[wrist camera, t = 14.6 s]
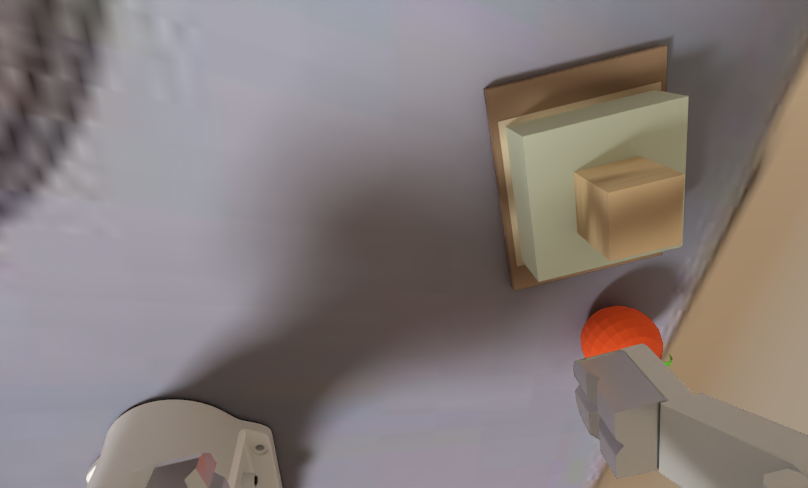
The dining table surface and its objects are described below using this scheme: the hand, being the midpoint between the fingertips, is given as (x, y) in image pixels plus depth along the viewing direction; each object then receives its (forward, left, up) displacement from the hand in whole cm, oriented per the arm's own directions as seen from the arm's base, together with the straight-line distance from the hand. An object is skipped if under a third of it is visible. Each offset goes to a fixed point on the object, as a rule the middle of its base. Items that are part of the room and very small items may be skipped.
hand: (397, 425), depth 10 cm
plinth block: (-7, -17, -28) cm, 33 cm away
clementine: (-23, -19, -29) cm, 42 cm away
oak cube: (-7, -17, -24) cm, 30 cm away
